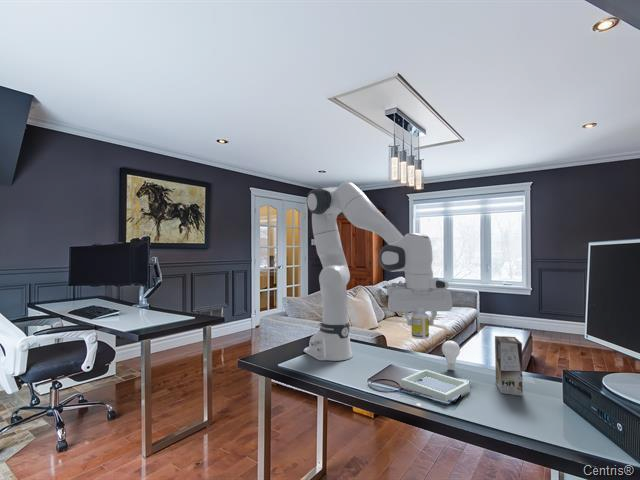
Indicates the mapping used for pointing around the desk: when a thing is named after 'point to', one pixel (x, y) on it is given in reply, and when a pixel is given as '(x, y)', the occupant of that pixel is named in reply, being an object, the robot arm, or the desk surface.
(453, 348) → the lightbulb
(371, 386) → the socket ring
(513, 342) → the coffee box
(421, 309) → the supplement bottle
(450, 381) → the tray
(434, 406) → the desk surface
